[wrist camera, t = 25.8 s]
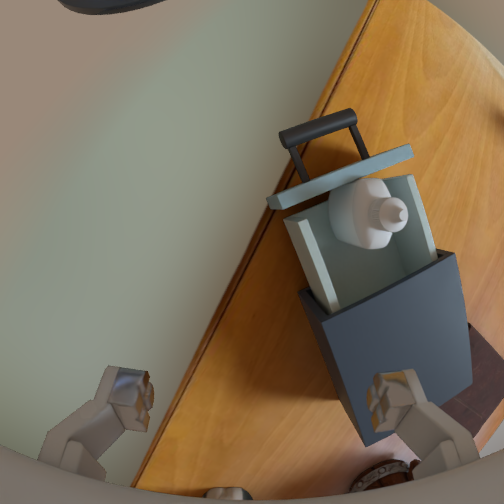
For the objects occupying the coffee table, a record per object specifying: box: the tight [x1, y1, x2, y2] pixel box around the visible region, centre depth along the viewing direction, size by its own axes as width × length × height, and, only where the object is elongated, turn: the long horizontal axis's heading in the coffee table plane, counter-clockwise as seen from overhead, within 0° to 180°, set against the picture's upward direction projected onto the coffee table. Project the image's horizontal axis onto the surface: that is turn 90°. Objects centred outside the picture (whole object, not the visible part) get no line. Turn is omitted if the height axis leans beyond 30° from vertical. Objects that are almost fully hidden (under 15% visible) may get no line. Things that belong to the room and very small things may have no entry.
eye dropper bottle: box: [328, 178, 408, 249], centre depth 25 cm, size 4×6×12 cm
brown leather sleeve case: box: [439, 323, 504, 438], centre depth 37 cm, size 15×20×2 cm
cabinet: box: [297, 248, 473, 447], centre depth 30 cm, size 16×14×10 cm
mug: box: [350, 459, 421, 493], centre depth 33 cm, size 12×14×15 cm
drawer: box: [266, 108, 438, 315], centre depth 28 cm, size 19×12×8 cm, turn 23°
